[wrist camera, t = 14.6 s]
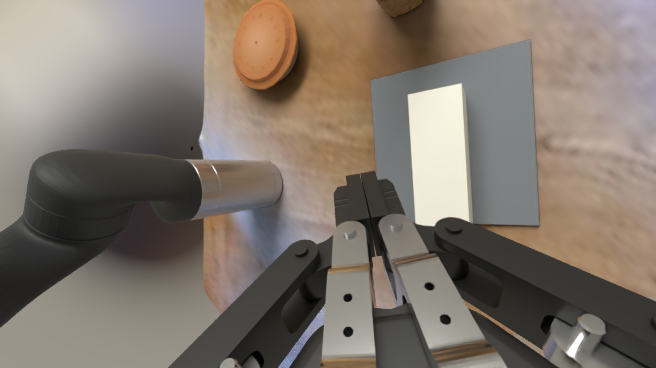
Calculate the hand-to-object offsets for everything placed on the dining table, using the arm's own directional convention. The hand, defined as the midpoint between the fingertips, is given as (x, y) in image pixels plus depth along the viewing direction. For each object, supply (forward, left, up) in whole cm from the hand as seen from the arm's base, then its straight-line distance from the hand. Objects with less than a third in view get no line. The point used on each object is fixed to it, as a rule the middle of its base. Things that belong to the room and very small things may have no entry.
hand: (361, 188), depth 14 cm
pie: (-29, +25, -28) cm, 48 cm away
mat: (0, +4, -28) cm, 28 cm away
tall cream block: (0, -8, -25) cm, 26 cm away
